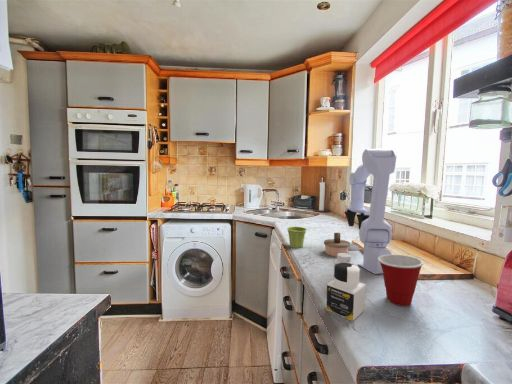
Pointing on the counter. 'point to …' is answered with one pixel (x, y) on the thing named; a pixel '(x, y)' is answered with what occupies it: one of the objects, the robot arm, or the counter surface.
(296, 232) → the plant pot
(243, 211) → the counter surface
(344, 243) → the lid
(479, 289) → the counter surface
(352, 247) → the mat
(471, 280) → the counter surface
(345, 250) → the bowl
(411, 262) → the plastic cup
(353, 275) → the medicine bottle
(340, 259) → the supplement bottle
